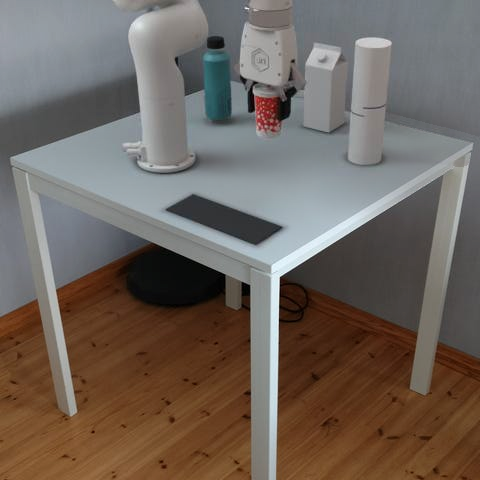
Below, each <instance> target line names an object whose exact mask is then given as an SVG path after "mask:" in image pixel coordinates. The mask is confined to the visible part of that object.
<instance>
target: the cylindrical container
mask: <svg viewBox="0 0 480 480" xmlns="http://www.w3.org/2000/svg"><path fill="white" fill-rule="evenodd" d="M392 43H393V42H392V41H391V40H389V39H387V38H382V37H362V38H359V39H357V40H355V46H354V57H353V58H354V60H353V61H354V62H353V73H352V89H351V105H350V118H349V121H350V122H349V134H348V149H347V160H348V161H349V162H351V163H353V164H356V165H361V166H371V165H377V164H379V163H380V162H381V160H382V152H383V143H384V142H383V141H384V130H385V120H386V110H387V98H388V97H387V96H388V87H389V77H390V76H389V75H390V67H391V56H392Z"/></svg>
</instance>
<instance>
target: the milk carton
mask: <svg viewBox="0 0 480 480" xmlns="http://www.w3.org/2000/svg"><path fill="white" fill-rule="evenodd" d="M348 66H349V61H348V59H347V58H346V57H345V55H344V54H343V52H342V47H340V46H335V45H331V44H330V45H329V44H326V43H325V44H324V43H319V42H313V47H312V50H311V52H310V54H309V56H308V57H307V60H306V62H305V65H304V79H305V80H306V82H307V83H306V85H305V86H304V91H303V92H304V93H303V121H302V123H303V125H302V126H303V127H304V128H307V129H312V130H317V131H319V132H320V131H321V132H324V133H327V134H328V133H331V132H333V131H334V130H336V129H337V128H339V127H340V126H342V125H344V124H345V115H346V114H345V113H346V98H347V97H346V96H347V81H348V69H349V67H348Z"/></svg>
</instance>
